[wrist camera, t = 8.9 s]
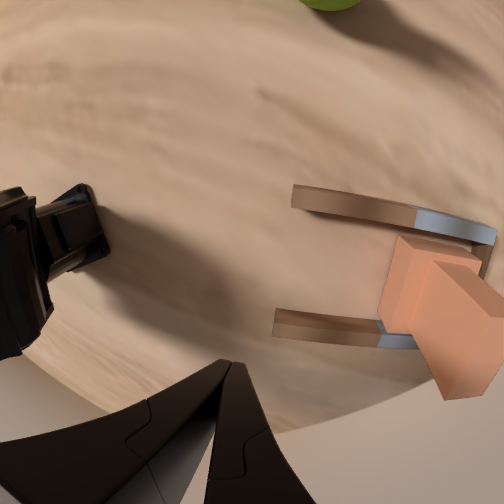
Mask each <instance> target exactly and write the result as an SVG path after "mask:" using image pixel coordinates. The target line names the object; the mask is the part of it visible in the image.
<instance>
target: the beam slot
mask: <svg viewBox="0 0 504 504" xmlns="http://www.w3.org/2000/svg"><path fill="white" fill-rule="evenodd" d="M291 208H298V209H305V210H312V211H318V212H325V213H331V214H338V215H344V216H350V217H356V218H362V219H368V220H373V221H379V222H385V223H390V224H395V225H401V226H406V227H411V228H416V229H421V230H426V231H431V232H436V233H440V234H445V235H450V236H454V237H459V238H463V239H467V240H472V241H474V243H473V247H472V251H471V254H473V255H474V256H475V257H477V258H478V259H480V260H481V261H482V264H481V267H480V270H479V274H478V276H479V277H480V278H481V279H482V280H483V279H484V276H485V273H486V270H487V266H488V263H489V260H490V257H491V253H492V250H493V246H494V242H495V238H496V234H497V230H496V229H494V228H492V227H490V226H488V225H486V224H484V223H481V222H477V221H473V220H470V219H466V218H462V217H459V216H455V215H451V214H447V213H443V212H439V211H435V210H431V209H426V208H422V207H418V206H413V205H409V204H404V203H399V202H395V201H390V200H385V199H380V198H374V197H369V196H364V195H358V194H353V193H347V192H341V191H335V190H329V189H323V188H316V187H309V186H303V185H295V184H293V192H292V200H291ZM272 337H279V338H287V339H294V340H302V341H311V342H319V343H329V344H339V345H350V346H363V347H377V348H394V349H419V347H418V345H417V343H416V341H415V339H414V338H413V336H412V334H399V333H387V331H386V329H385V326H384V324H383V322H382V321H379V320H369V319H358V318H349V317H340V316H331V315H323V314H314V313H306V312H299V311H291V310H284V309H277V308H276V311H275V317H274V324H273V331H272Z"/></svg>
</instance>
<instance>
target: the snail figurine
mask: <svg viewBox="0 0 504 504" xmlns="http://www.w3.org/2000/svg"><path fill="white" fill-rule="evenodd" d="M299 1H300V2H302V3H303V4H305V5H307V6H310V7H312V8H315V9H319V10H325V11H338V10H343V9H347V8H350V7H352V6H354V5H355V4H357V3H358V2H359V1H360V0H299Z"/></svg>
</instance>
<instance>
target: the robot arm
mask: <svg viewBox="0 0 504 504" xmlns="http://www.w3.org/2000/svg"><path fill="white" fill-rule="evenodd" d="M80 188H81V189H82V191H81V190H80ZM35 205H36V196H27V195H26V194H25V193H24V191H23V190H22V188H21V187H14V188H10V189H6V190H3V191H0V361H1V360H3V359H6V358H9V357H14V356H20V355H22V350H24V349H26V348H27V347H29V346H30V345H31V344H32V343H33V342H34V341H35V340H36V339H37V338H38V337H39V336H40V334H41V332H40V331H41V329H42V328H43V326H44V325H45V323H46V321H47V320H48V318H49V317H50V315H51V314H52V312H53V311H54V306H53V303H52V302H51V299H50V294H49V290H48V286H47V283H49V282H50V281H52V280H53V279H55V278H56V277H58V276H60V275H61V274H63V273H64V272H70V271H72V270H74V269H77V268H79V267H81V266H84V265H86V264H89V263H91V262H94V261H96V260H99V259H101V258H104V257H106V256H107V255H109V254H110V248H109V245H108V243H107V241H106V238H105V236H104V233H103V231H102V228H101V226H100V223H99V221H98V218H97V215H96V213H95V210H94V207H93V205H92V202H91V199H90V196H89V193H88V190H87V188H86V185H85V184H83V183H81V184H77V185H76V186H74V187H73V188H71V189H70V190H69V191H67V192H66V193H64V194H63V195H61V196H60V197H58V198H57V199H56V200H54V201H53V202H51V203H50V204H48V205H45V206H41V207H38V208H35ZM103 249H104V250H105V252H104V250H103ZM214 432H215V434H214ZM213 434H214V441H213V447H212V454H211V460H210V467H209V473H208V479H207V486H206V492H205V499H204V504H316V503H315V501H314V500H313V498H312V497H311V496H310V494H309V493H308V491H307V490H306V489H305V487H304V486H303V484H302V483H301V481H300V480H299V478H298V477H297V476H296V474H295V473H294V471H293V470H292V468H291V467H290V465H289V464H288V462H287V460H286V459H285V457H284V455H283V454H282V452H281V451H280V448H279V446H278V444H277V442H276V440H275V438H274V435H273V433H272V431H271V429H270V427H269V424H268V422H267V419H266V417H265V414H264V412H263V409H262V407H261V404H260V402H259V399H258V397H257V394H256V391H255V389H254V386H253V384H252V381H251V378H250V376H249V373H248V370H247V368H246V365H245V364H244V363H240V362H231V361H229V360H224V359H219V360H217V361H215V362H213V363H212V364H210V365H208V366H206V367H205V368H203V369H201V370H199V371H198V372H196V373H194V374H192V375H190V376H189V377H187V378H185V379H183V380H181V381H179V382H178V383H176V384H174V385H172V386H170V387H168V388H166V389H164V390H162V391H161V392H159V393H157V394H155V395H153V396H151V397H149V398H147V400H146V399H144V400H142V401H140V402H138V403H136V404H134V405H132V406H129V407H127V408H125V409H123V410H120V411H117V412H115V413H112V414H109V415H107V416H103V417H100V418H97V419H94V420H91V421H87V422H84V423H81V424H77V425H74V426H71V427H67V428H63V429H60V430H56V431H52V432H48V433H44V434H40V435H36V436H31V437H27V438H22V439H17V440H12V441H7V442H0V504H180V502H181V500H182V498H183V496H184V494H185V492H186V490H187V488H188V486H189V484H190V482H191V480H192V478H193V476H194V474H195V472H196V469H197V467H198V466H199V463H200V461H201V459H202V457H203V455H204V453H205V451H206V449H207V447H208V444H209V442H210V440H211V438H212V436H213Z"/></svg>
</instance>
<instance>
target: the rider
mask: <svg viewBox="0 0 504 504" xmlns="http://www.w3.org/2000/svg"><path fill="white" fill-rule="evenodd" d="M481 264H482V261H481V260H480V259H478V258H477V257H475V256H474V255H473V254H471V253H470V252H468V251H467V250H465V249H464V248H462V247H457V246H452V245H448V244H443V243H438V242H432V241H427V240H422V239H417V238H411V237H406V236H400V235H398V238H397V243H396V247H395V251H394V255H393V259H392V263H391V266H390V270H389V274H388V277H387V281H386V284H385V288H384V291H383V294H382V298H381V301H380V304H379V307H378V310H377V311H378V313H379V315H380V317H381V320H382V322H383V324H384V326H385V329H386V331H387V333H399V334H412V336H413V338H414V339H415V341H416V343H417V345H418V347H419V349H420V351H421V353H422V355H423V357H424V359H425V361H426V363H427V365H428V367H429V369H430V371H431V373H432V375H433V377H434V379H435V381H436V383H437V385H438V388H439V390H440V392H441V394H442V396H443V399H444V400H452V399H461V398H469V397H476V396H481V395H483V394H484V392H485V391H486V389H487V388H488V386H489V384H490V383H491V381H492V380H493V378H494V377H495V375H496V373H497V372H498V370H499V368H500V366H501V365H502V363H503V362H504V298H503V297H502V296H501V295H500V294H499V293H498V292H496V291H495V290H494V289H493V288H492V287H491V286H490V285H488V284H487V283H486V282H485V281H484V280H482V279H481V278H480V277H479V276H478V274H479V270H480V267H481Z"/></svg>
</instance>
